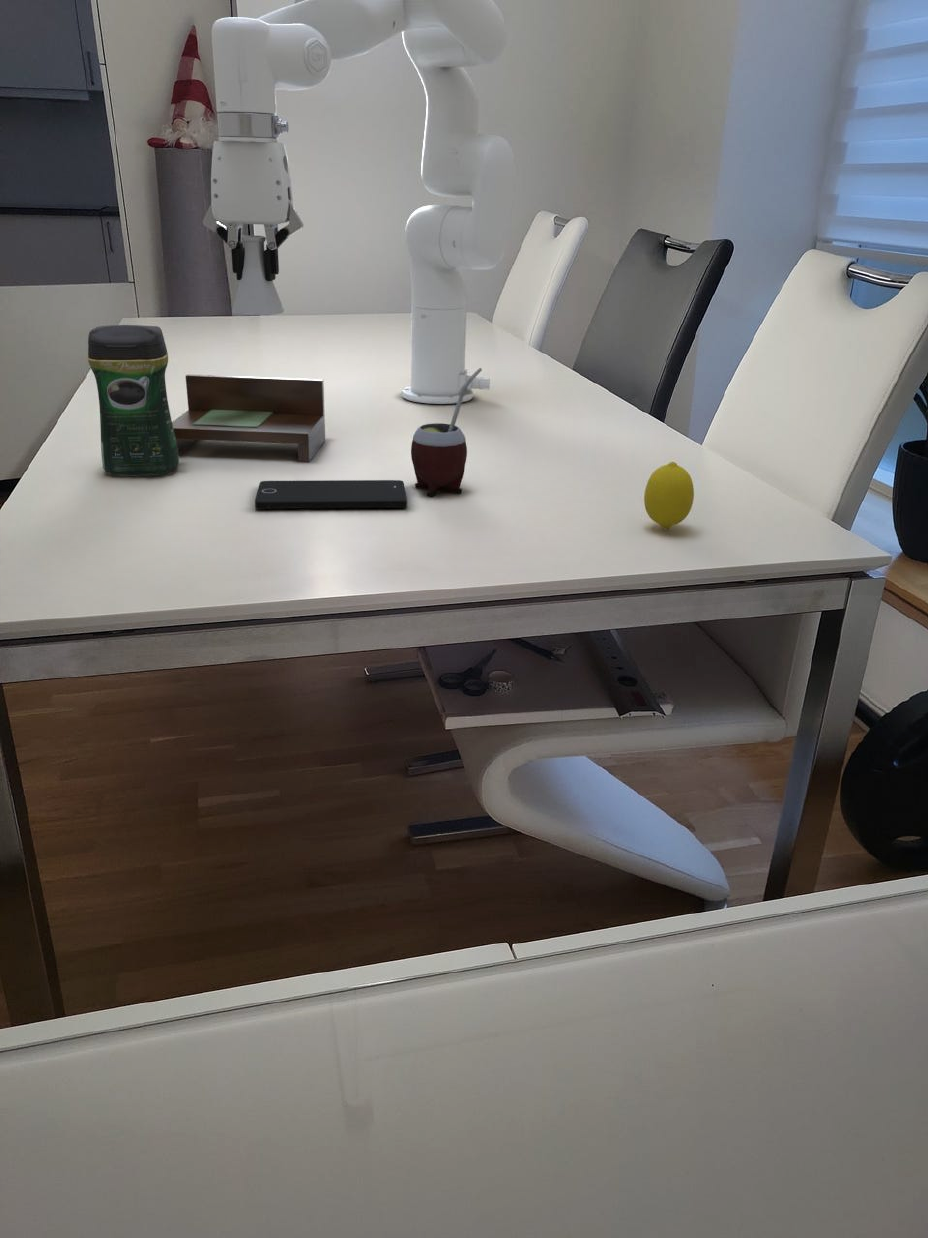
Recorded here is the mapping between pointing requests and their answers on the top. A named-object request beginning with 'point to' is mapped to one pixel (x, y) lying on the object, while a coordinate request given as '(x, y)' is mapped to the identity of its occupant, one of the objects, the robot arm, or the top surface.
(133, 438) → the coffee jar
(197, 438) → the shelf
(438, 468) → the mate gourd
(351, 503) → the cell phone
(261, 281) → the flask
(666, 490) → the lemon
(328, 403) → the top surface
